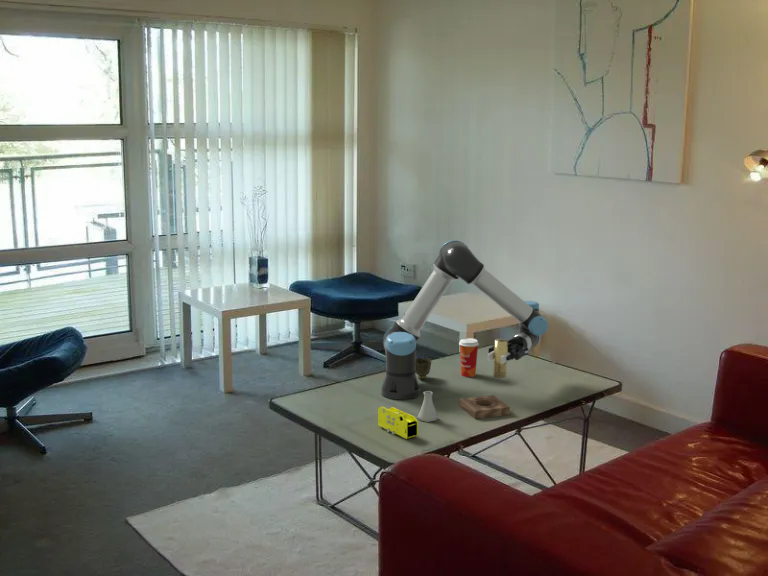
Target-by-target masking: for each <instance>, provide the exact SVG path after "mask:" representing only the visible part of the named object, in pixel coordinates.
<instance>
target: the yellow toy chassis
mask: <svg viewBox="0 0 768 576" xmlns="http://www.w3.org/2000/svg"><path fill="white" fill-rule="evenodd" d="M377 413H378V414H377V426H379V427H381V428H383V429H384V430H385V431H387V433H390V432H391V435H398V436H400V437H401V438H402V439H406V440H407V439H412V438H415V437H416V436H419V421H418V420H417V418H416V416H414V415H412V414H409V413H407V412H404V411H402V410H400V409H398V408H395V407H394V406H391V407H390V408H387V407H385V406H383V405H381V406H380V407H379V408H378V409H377Z"/></svg>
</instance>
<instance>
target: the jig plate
mask: <svg viewBox="0 0 768 576" xmlns="http://www.w3.org/2000/svg"><path fill="white" fill-rule="evenodd" d="M458 405H459V408H461V409H462V410H463V411H464V412H466V413H467V414H468V415H469V416H470V417H471V418H473V419H474V420H479V419H487V418H495V417H502V416H503V417H505V416H509V415H511V406H510V405H508V404H506V403H505V402H504V401H502V400H501V399H500V398H498V397H497V396H495V395H494V394H491V395H482V396H474V397H465V398H464V397H463V398H459V404H458Z"/></svg>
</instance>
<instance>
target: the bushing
mask: <svg viewBox="0 0 768 576" xmlns="http://www.w3.org/2000/svg"><path fill="white" fill-rule="evenodd" d="M508 341H509V340H508V339H505V338H496V339H494V345H495V346H494V345H493V346H494V359H493V369H492V370H493V371H492V372H493V373H492V374H493V375H492V376H493V378H498V379H504V378H506V377H507V372H508V371H507V370H508V368H507V367H508V361H507V362H505V363H503V364H501V356H503V355H505V354H507V352H508Z"/></svg>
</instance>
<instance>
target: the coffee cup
mask: <svg viewBox="0 0 768 576" xmlns="http://www.w3.org/2000/svg"><path fill="white" fill-rule="evenodd" d="M458 345H459V354H460V356H459V357H460V375H461V376H462V377H463V378H464V377H465V378H472V377H475V376H476V373H477V371H476V370H477V359H478V351H479V349H478V346H479V345H480V343H479V342H478V340H477V339H476V338H470V337H469V338H463V339H462V338H461V339H460V341H459V342H458Z"/></svg>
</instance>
